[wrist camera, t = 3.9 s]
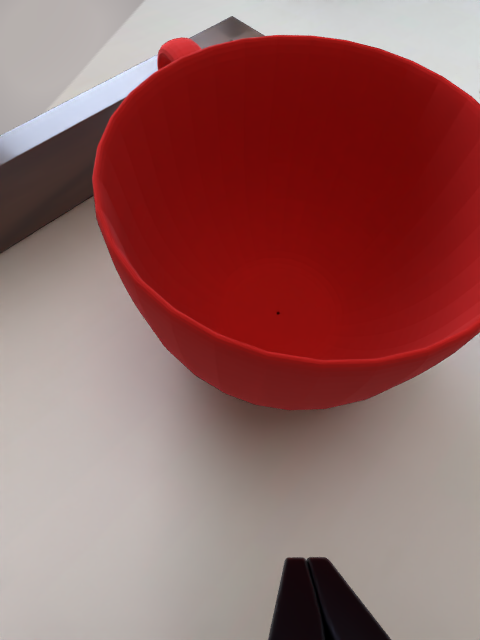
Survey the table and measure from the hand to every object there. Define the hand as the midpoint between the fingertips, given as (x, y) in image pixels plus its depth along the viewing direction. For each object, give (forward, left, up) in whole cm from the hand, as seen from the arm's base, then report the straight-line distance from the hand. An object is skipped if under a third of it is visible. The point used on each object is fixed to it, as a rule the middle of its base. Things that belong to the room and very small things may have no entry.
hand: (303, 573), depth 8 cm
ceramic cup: (+9, -9, -9) cm, 15 cm away
